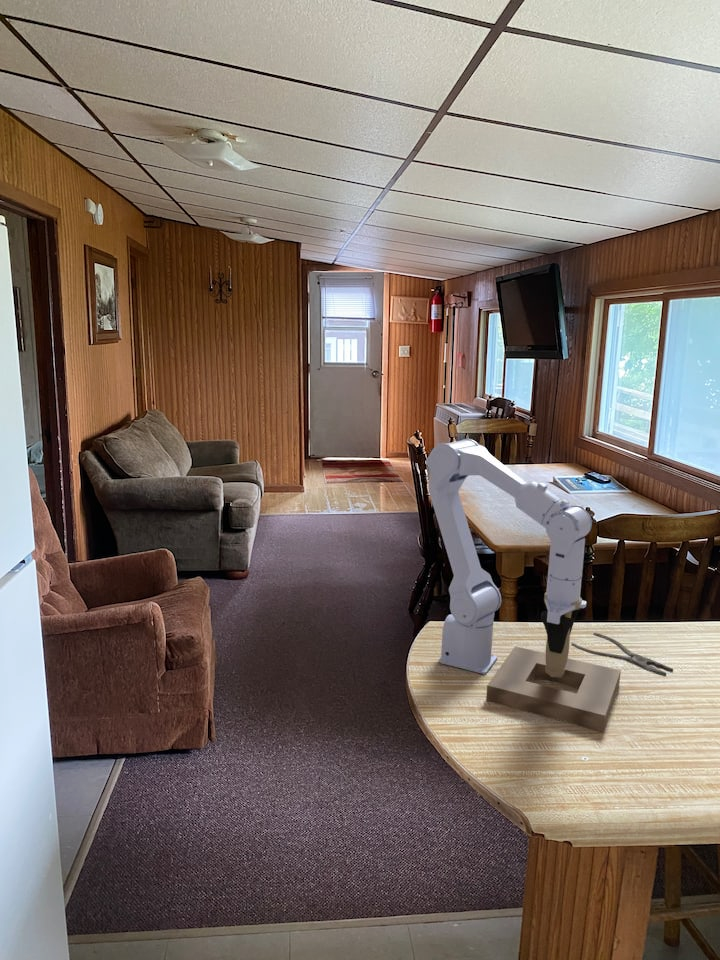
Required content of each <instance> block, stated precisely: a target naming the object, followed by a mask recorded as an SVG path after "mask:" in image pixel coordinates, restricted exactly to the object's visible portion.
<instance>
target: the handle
mask: <svg viewBox="0 0 720 960" xmlns="http://www.w3.org/2000/svg"><path fill="white" fill-rule="evenodd" d="M546 592H547V591H546ZM546 592H544V597H543V601H544V602H545V598H546V599H547V595H546ZM582 600H583V599H582V597H581V596H580V600H579V601H578V602H575V603H571V605H575V609H574V610H577V609H579V604H581V603H582ZM574 610H572V611H574ZM572 611H570V612H568V613H565V614H564V615H565V617H568V618H571V613H572ZM570 637H571V634H570V629H569V631H568V634H567V637H566V641H565V645H564V649H563V651H562V653H561V654H559V653H555V652H551V651H550V650H549V645H548V638H547V637H546V645H545V653H546V665H547V666H545V670H546V673H547V674H549V675H550V676H551V677H559V678H560V677H562V675H564V672H565V666H566V663H567V659H568V658H569V653H570V639H571V638H570Z"/></svg>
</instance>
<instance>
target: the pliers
mask: <svg viewBox="0 0 720 960" xmlns="http://www.w3.org/2000/svg"><path fill="white" fill-rule="evenodd" d="M593 635H594V636H595V637H599V638H603V639H605V640H607V641H610V642H611V643H613V644H615V646H617V647H619V648H620V650H622V652H623V653H625V654H626V653H627V656H624V655H620V654H614V653H610V652H609V653H606V652H603V651H602V652H601V651H600V652H599V651H597V650H596V651H595V650H591V649H588V648H585V647H583V646H580V645H579V644H577V643H575V642H571V646H572V647H575V648H576V649H580V650H581V651H584V652H587V653H590V654H594V655H598V656H602V655H603V657H607V656H609V657H608V658H612V657H614V658H613V659H619V660H622V659H623V661H625V660H626V661H625V662H628V661H629V663H632V664H634V665H636V666H638V667H640V668H643V670H646V671H649V672H652V673H655V674H659V675H662V676H667V672H665V671H663V670H666V671H668V672H674V668H672V667H670V666H667V665H665V664H663V663H660V662H657V661H655V660H653V659H651V658H648V657H644V656H642V655H640V654H638V653H637V654H636V653H634V652H632V651H630V649H628V648H627V647H626V646H624V645H623V644H622V643H621V642H620V641H618V640H616V639H614V638H612V637H609V636H607V635H604V634H602V633H598V632H593ZM630 656H631V657H630ZM658 668H660V669H658ZM661 669H663V670H661Z"/></svg>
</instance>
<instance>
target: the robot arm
mask: <svg viewBox="0 0 720 960" xmlns="http://www.w3.org/2000/svg"><path fill="white" fill-rule="evenodd" d="M426 466H427V468H428V471H429V472H428V473H429V475H428V485H427V486H428V488H427V489H428V493H429V496H430V499H431V503H432V506H433V509H434V512H435V513H434V514H435V517H436V520H437V523H438V527H439V530H440V534H441V536H442V540H443V544H444V547H445V550H446V553H447V557H448V561H449V563H450V567H451V571H452V574H453V577H452V580H451V581H450V585H449V587H448V593H449V596H450V600H449V601H450V602H449V609H450V613H451V614H448V615H447V616H446V618H445V620H444V623H443V627H442V633H441V652H440V660H439V663H440V664H443V665H446V666H451V667H455V668H458V669H459V668H460V669H462V670H467V671H470V672H475V673H477V674H482V675H485V674H487V673H488V672H489V670H490V669H491V667H493V665H494V664H495V662H496V661H497V660H498V656H497V655H495V654H492V648H493V635H494V634H493V633H494V620H495V619H494V618H495V612H496V611H498V610H499V608H500V607H501V605H502V594H501V592H500V590H499V588H498V587H497V585H496V584H495V583H494V582H493V579H492V576H491V574H490V573H489V572H487V571H486V570H484V569H483V568H482V566H481V563H480V559H479V556H478V554H477V550H476V546H475V542H474V539H473V536H472V533H471V529H470V526H469V524H468V523H469V522H468V519H467V516H466V513H465V510H464V507H463V503H462V499H461V496H460V493H459V491H460V489H461V487H463V486H462V485H463V484H464V482H465V481H466V479H467V478H468V477H469V476H480V477H482V478H483V479H485V480H486V481H488V482H489V483H491V484H492V485H494V486H496V487H497V488H499V489H500V490H502V491H504V492H505V493H506V494H509V495H510V496H512V498H514V501H515V507H516V508H517V509H519V510H520V511H521V512H523V513H524V514H525V515H527V516H528V517H529V518H531V519H532V520H534V521H535V522H536V523H538V524H539V525H540V526H542V527H543V528H544V529H545V532H546V535H547V536H548V538H549V540H550V548H549V556H548V557H549V559H548V569H547V570H548V571H547V581H546V582H547V583H546V595H547V599H546V598H545V601H544V604H545V607H546V609H547V610H543V611H542V612H541V614H540V620H541V622H542V623H543V626H544V629H545V632H546V636H547V637H546V639H547V638H548V645H549V650H550V651H551V652H555V653H559V654H561V653H562V651H563V649H564V645H565V641H566V637H567V634H568V631H569V629H570V635H571V633H572V629H573V627H574V623H575V621H576V618H577V617H578V614H579V613H580V612H581V611H582V609H585V608H586V607H587V601H586V600H583V599H582V603H581V604H579V609H577V610H574V609H575V605H571V603H575V602H578V601H579V600H580V597H581V588H582V580H583V579H582V578H583V569H584V558H585V557H584V556H585V546H586V545H585V544H586V538H585V537H586V536H587V535H588V534H589V533H590V532H591V529H592V526H593V520H592V517H591V515H590V513H589V512H588V511H587V510H586V509H585V508H584V506H582V505H579V504H572V505H571V504H570V501H568V500H567V499H562V498H560V497H559V496H557V495H556V494H554V493H553V492H552V491H551V490H550V489H548V485H547V484H546V483H544V482H539V483H538V482H537V481H530V482H526V481H525V480H524V479H522V478H521V477H520V476H518V475H517V474H516V473H514V472H513V471H512V470H511V469H510V468H509V467H507V466H506V465H504V464H503V463H502V462H501V461H499V460H498V459H497V458H496V457H495V456H493V455H492V454H491V453H490V452H489V451H488V449H487V448H486V447H485V446H484V445H481V444H480V443H478V442H477V441H475V440H473V439H472V438H464V439H461V440H457V441H452V442H448V443H447V442H446V443H445V442H444V443H438V444H436V445H435V446H434V447H433V448H432V450H431V452H430V453H429V455H428V457H427V459H426ZM572 610H574V611H572ZM570 611H572V613H571V618H568V617H565V615H564V614H565V613H568V612H570Z"/></svg>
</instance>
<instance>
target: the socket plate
mask: <svg viewBox="0 0 720 960" xmlns="http://www.w3.org/2000/svg"><path fill="white" fill-rule="evenodd" d="M545 666H547V665H546V652H542V651H541V652H540V651H538V650H532V649H527V648H523V647H520V646H514V647H513V648H512V650H511V651H510V653H509V654H508V656H507V657H506V658H505V660H504V661H503V662H502V664H501V666H500V667H499V668H498V669H497V670H496V672H495V674H494V675H493V677H492V678H491V679H490V681H489V682H488V683H487V686H486V696H485V697H486V698H485V701H486V702H490V703H493V704H497V705H501V706H505V707H508V708H512V709H515V710H519V711H523V712H527V713H530V714H534V715H539V716H542V717H546V718H548V719H549V718H550V719H552V720H556V721H560V722H564V723H568V724H571V725H574V726H580V727H583V728H585V729H587V728H588V729H590V730H593V731H598V732H602V733H604V732H605V728H606V726H607V722H608V720H609V717H610V713H611V710H612V709H613V705H614V701H615V699H616V696H617V693H618V690H619V687H620V680H621V673H622V672H621V669H617V668H613V667H607V666H605V665H600V664H599V665H598V664H594V663H590V662H585V661H582V660H577V659H572V658H569V657H568V659H567V663H566V666H565V672H564V675H562V677H560V678H559V677H551V676H550V675H549V674H547V673H546V670H545ZM535 679H539V680H544V681H548V682H553V683H557V684H559V685H560V684H561V685H565V686H569V687H573V688H577V689H578V691H577V692H572V691H567V690H564V689H560V688H556V687H551V686H547V685H543V684H539V683H535V682H533V681H534V680H535Z"/></svg>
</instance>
